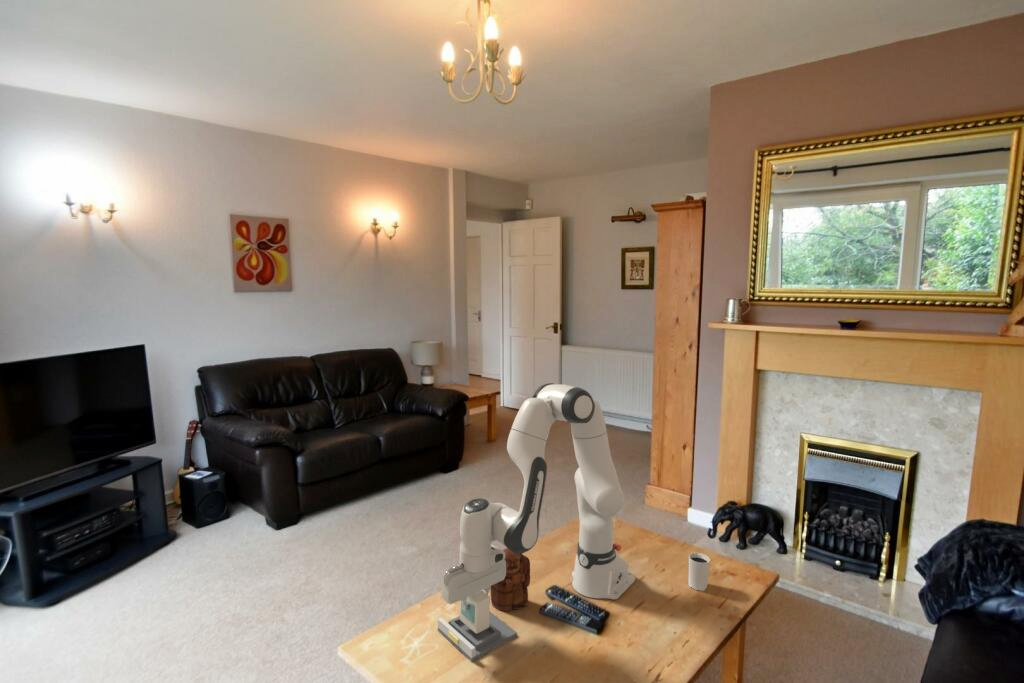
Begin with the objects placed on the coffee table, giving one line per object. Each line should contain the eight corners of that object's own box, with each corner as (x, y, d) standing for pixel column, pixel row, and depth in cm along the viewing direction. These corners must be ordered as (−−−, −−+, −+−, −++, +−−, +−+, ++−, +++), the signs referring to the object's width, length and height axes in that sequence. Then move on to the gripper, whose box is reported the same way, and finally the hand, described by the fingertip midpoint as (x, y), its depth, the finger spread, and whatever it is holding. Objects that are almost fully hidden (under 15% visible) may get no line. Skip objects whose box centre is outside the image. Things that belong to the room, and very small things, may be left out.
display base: (482, 608, 160) (482, 597, 160) (516, 635, 148) (517, 624, 148) (436, 631, 149) (436, 619, 149) (470, 662, 137) (470, 650, 137)
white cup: (701, 594, 170) (703, 565, 169) (683, 585, 175) (684, 557, 174) (712, 587, 174) (713, 558, 173) (693, 578, 179) (695, 550, 178)
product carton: (472, 613, 152) (472, 584, 151) (489, 627, 146) (490, 597, 145) (458, 619, 149) (459, 589, 148) (475, 634, 143) (476, 603, 142)
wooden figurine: (495, 614, 157) (496, 558, 155) (489, 602, 163) (490, 547, 161) (531, 607, 161) (533, 551, 159) (524, 595, 167) (525, 541, 165)
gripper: (450, 576, 136) (450, 625, 138) (510, 551, 150) (508, 596, 151) (437, 566, 141) (436, 614, 143) (496, 542, 155) (495, 586, 156)
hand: (474, 604), depth 147 cm, fingers closed on product carton, 5 cm apart
